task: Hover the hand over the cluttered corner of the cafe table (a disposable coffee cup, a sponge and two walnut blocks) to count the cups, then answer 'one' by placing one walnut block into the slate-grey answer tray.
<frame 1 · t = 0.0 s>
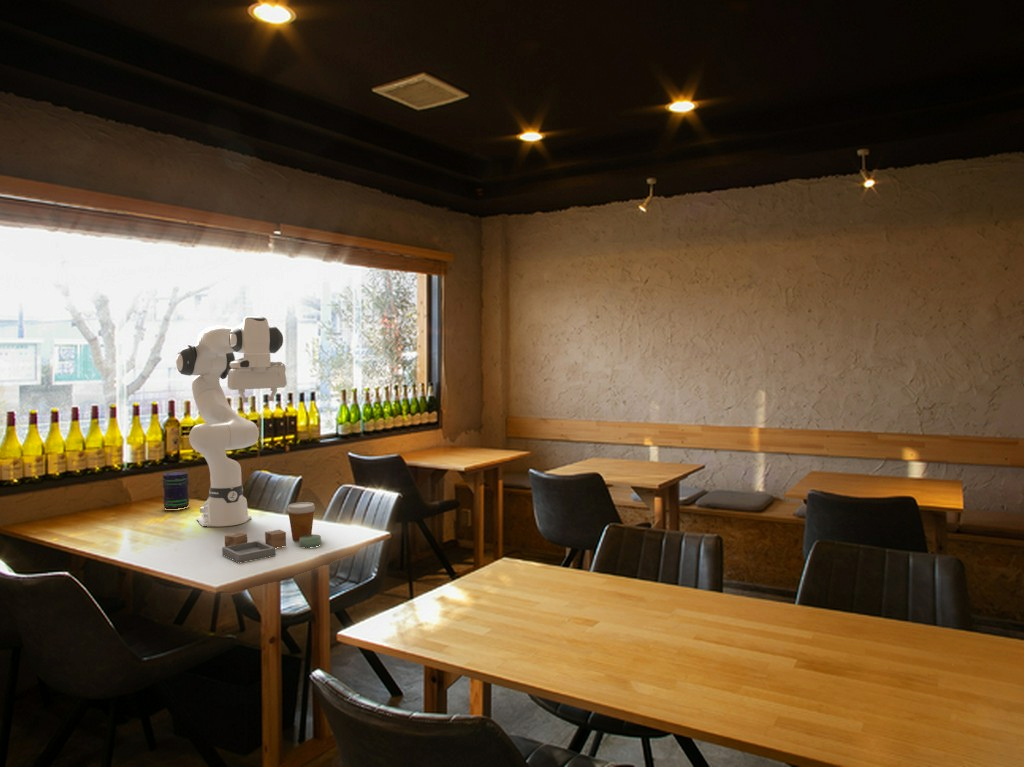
hand: (258, 401, 259), 48 cm above the table, tool pointing down, fingers open, 8 cm apart
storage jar: (176, 508, 311), on the table
sponge: (310, 545, 250), on the table
walnut block 2: (236, 549, 246), on the table
walnut block: (275, 546, 249), on the table
answer tray: (249, 555, 239), on the table
disposable coffee cup: (301, 539, 259), on the table
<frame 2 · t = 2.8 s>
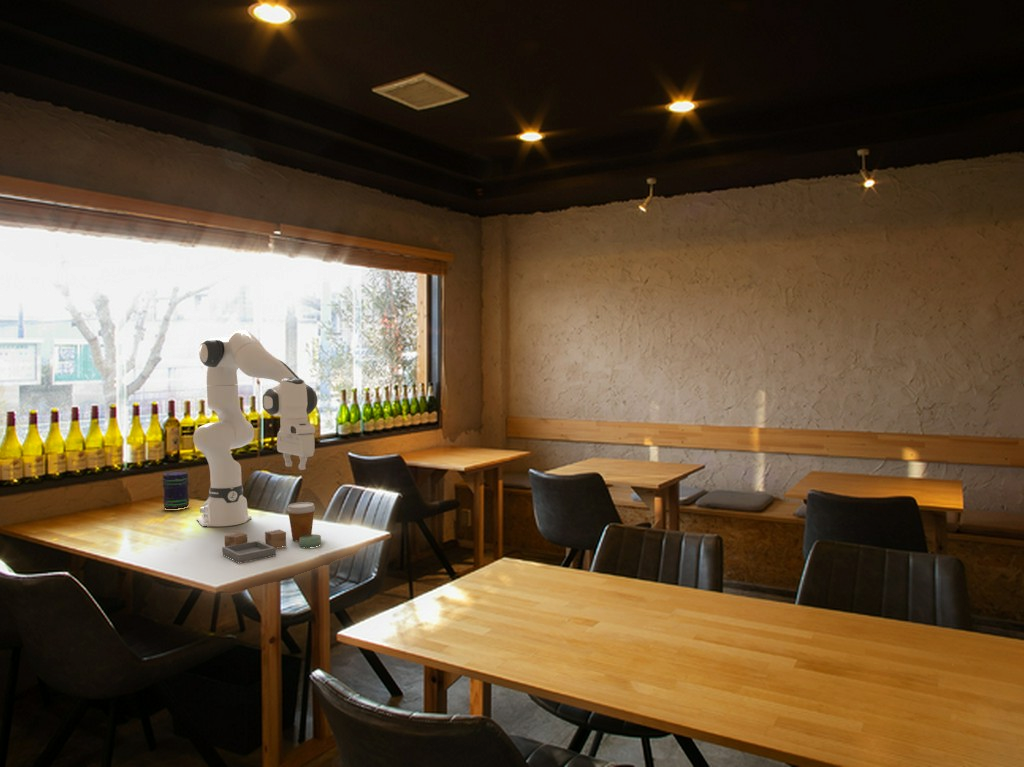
hand: (295, 468, 247), 27 cm above the table, tool pointing down, fingers open, 8 cm apart
nothing on the table moved.
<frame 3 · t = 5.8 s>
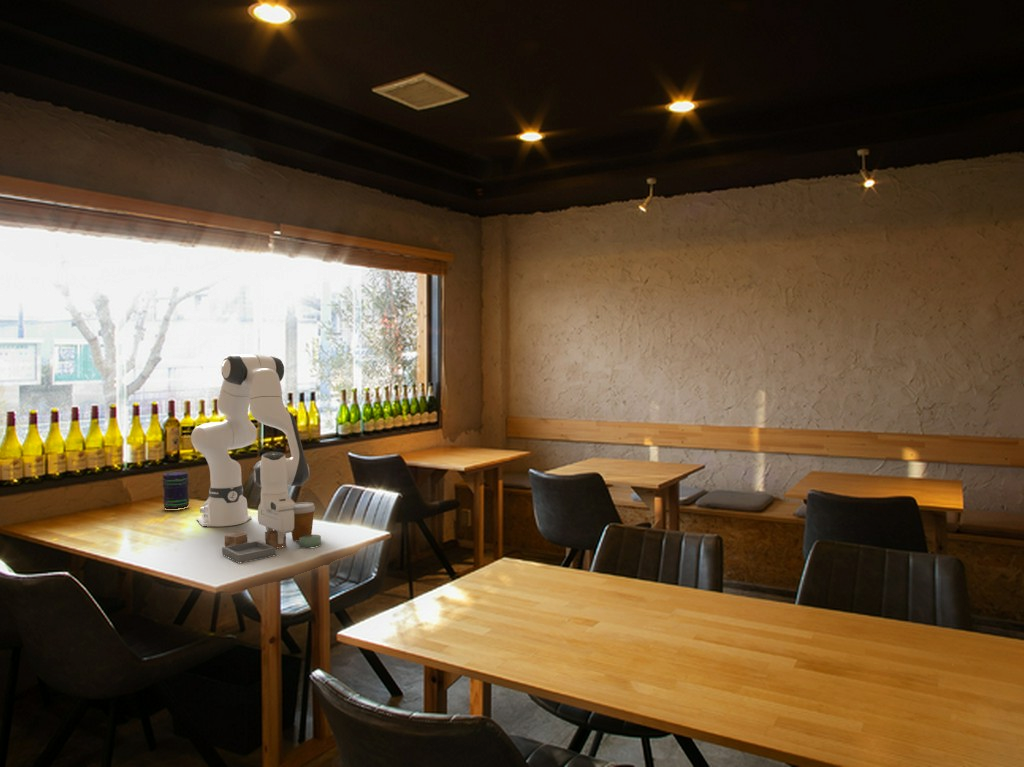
hand: (275, 541, 249), 2 cm above the table, tool pointing down, fingers closed on walnut block, 5 cm apart
walnut block: (275, 546, 249), on the table, touching gripper
everything else where it was.
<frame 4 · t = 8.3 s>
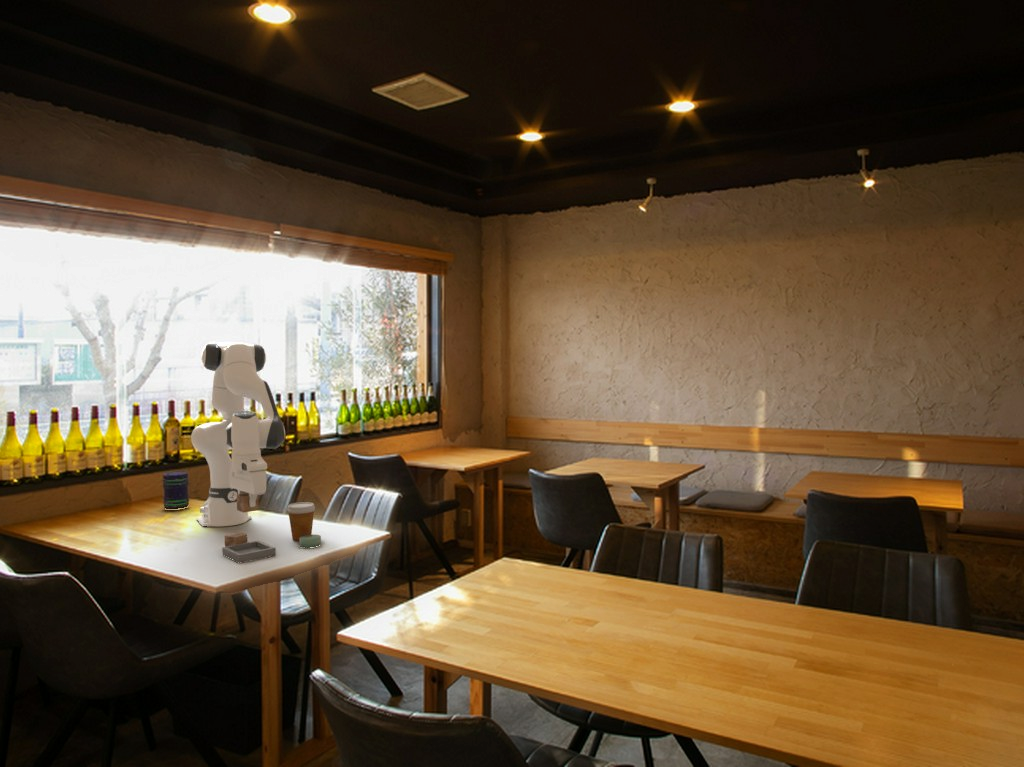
hand: (247, 505, 238), 16 cm above the table, tool pointing down, fingers closed on walnut block, 5 cm apart
walnut block: (247, 510, 238), point 15 cm above the table, touching gripper
everything else where it was.
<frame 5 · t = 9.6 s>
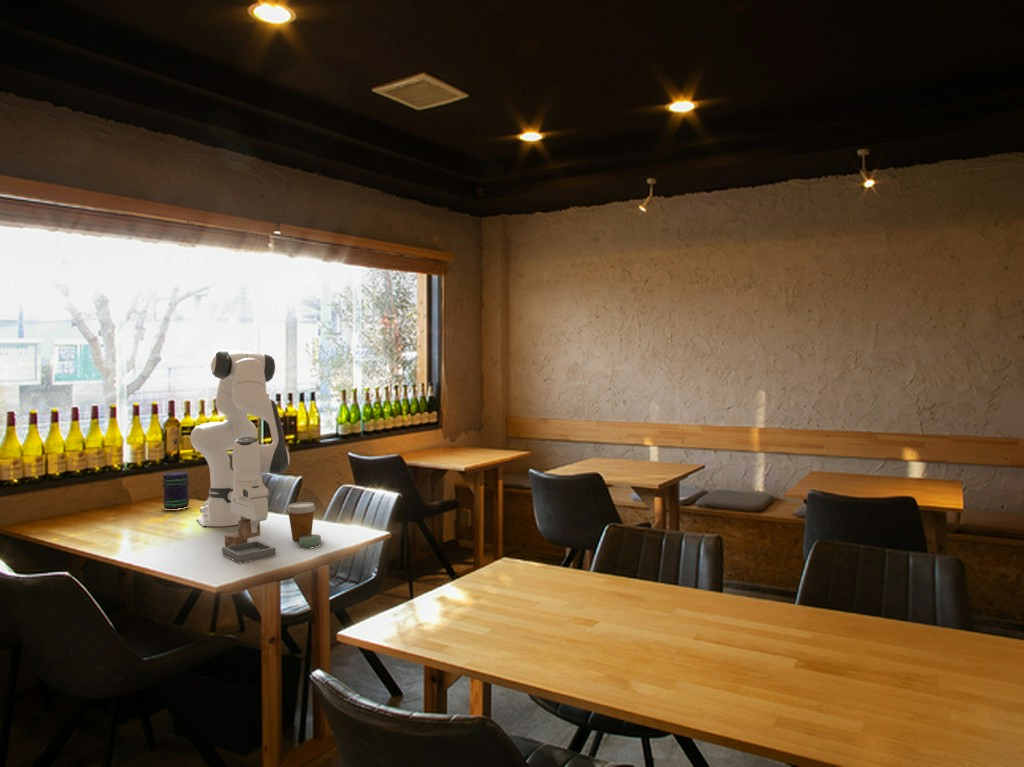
hand: (249, 530, 238), 8 cm above the table, tool pointing down, fingers closed on walnut block, 5 cm apart
walnut block: (249, 535, 238), point 6 cm above the table, touching gripper
everything else where it was.
when the fingers open (4 cm above the table, at t = 10.8 s): walnut block drops 1 cm, resting on answer tray.
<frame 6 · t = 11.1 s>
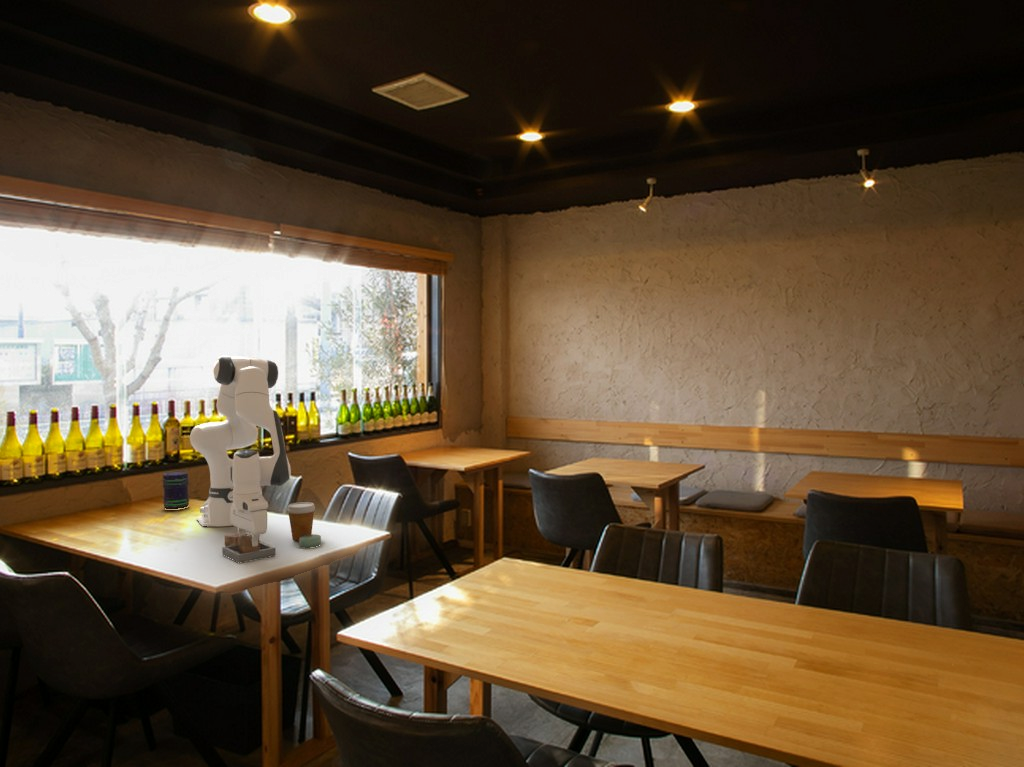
hand: (248, 543, 238), 4 cm above the table, tool pointing down, fingers open, 7 cm apart
walnut block: (248, 552, 239), point 1 cm above the table, touching answer tray
everything else where it was.
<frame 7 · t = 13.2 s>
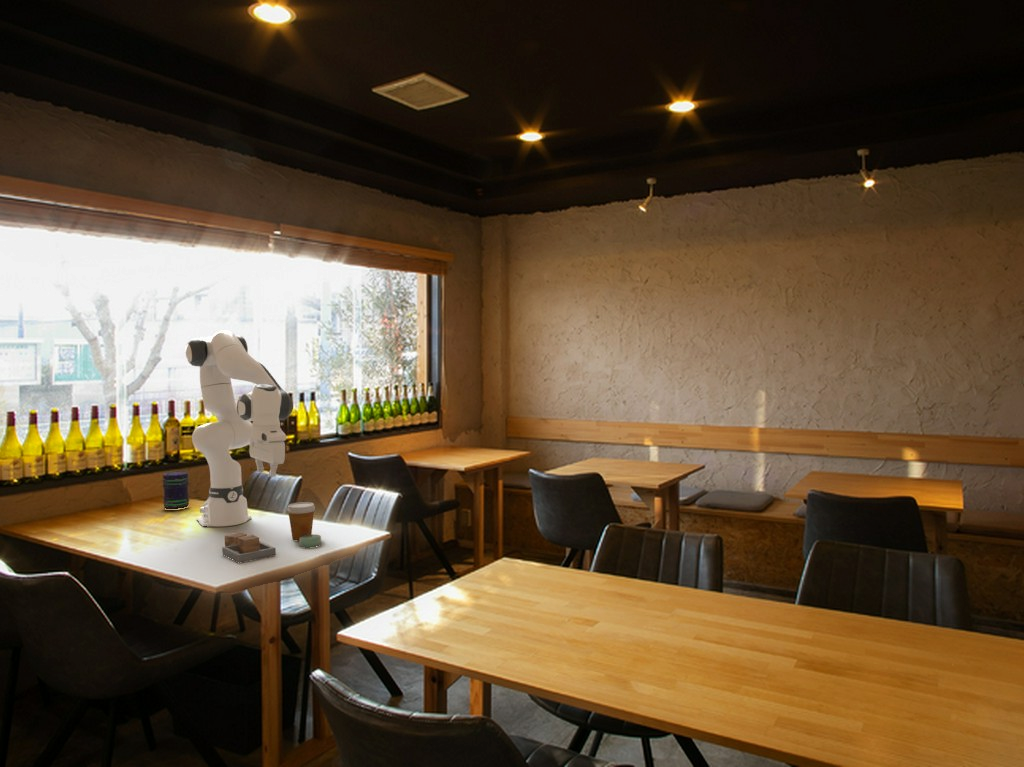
hand: (266, 474, 248), 25 cm above the table, tool pointing down, fingers open, 8 cm apart
nothing on the table moved.
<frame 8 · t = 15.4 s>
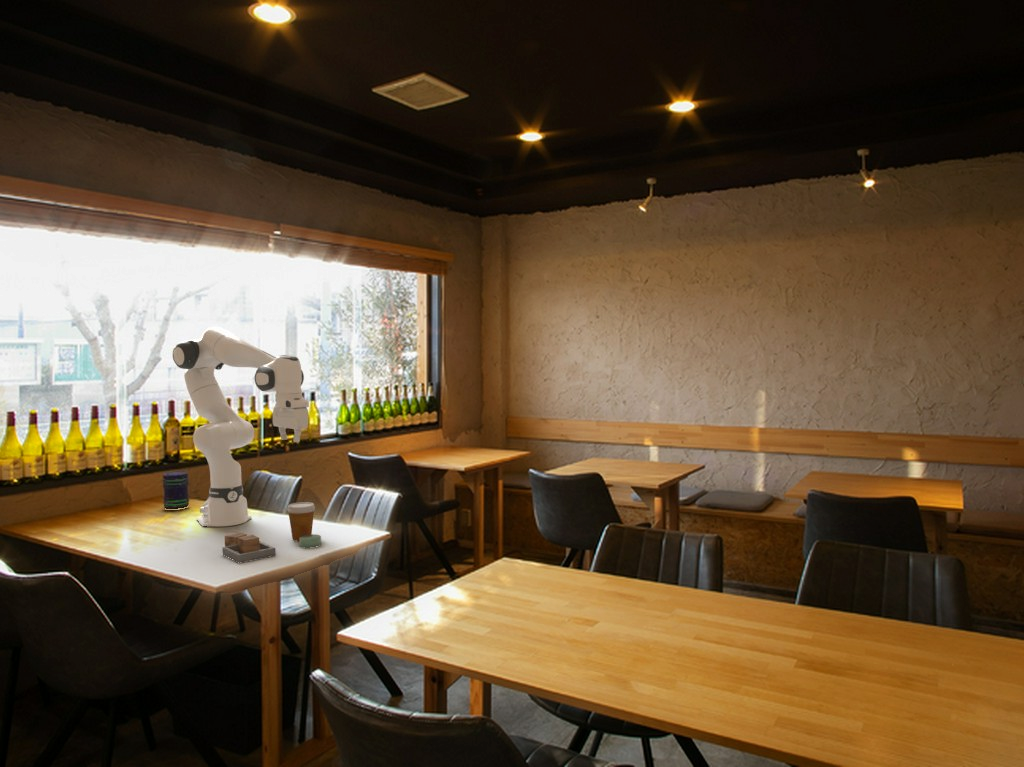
hand: (290, 440, 260), 34 cm above the table, tool pointing down, fingers open, 8 cm apart
nothing on the table moved.
at the end: walnut block inside the target area on the answer tray (0.1 cm from its centre), point 0.8 cm above the answer tray's base; the gripper is holding nothing; disposable coffee cup moved 0.2 cm from its start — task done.
